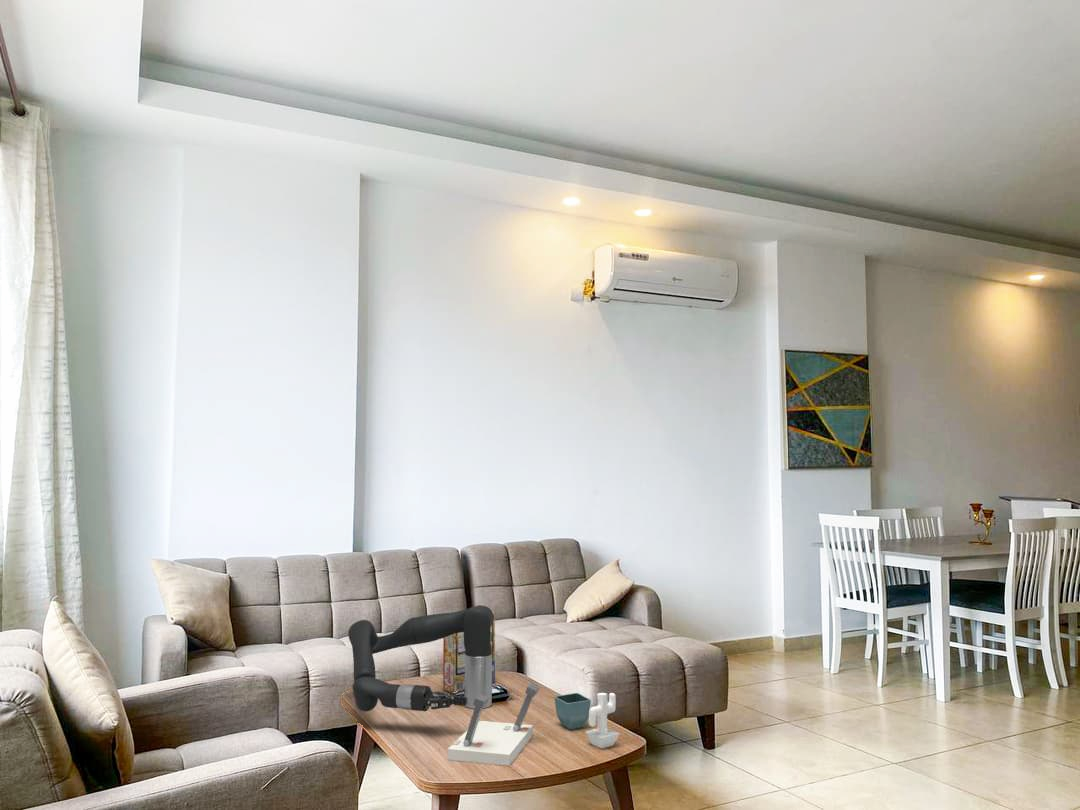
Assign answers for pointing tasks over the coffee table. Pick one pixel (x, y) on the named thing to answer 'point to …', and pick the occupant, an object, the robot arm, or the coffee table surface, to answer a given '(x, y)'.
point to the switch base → (492, 744)
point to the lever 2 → (525, 705)
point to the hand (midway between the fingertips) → (466, 701)
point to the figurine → (602, 721)
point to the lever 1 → (475, 718)
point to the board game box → (460, 660)
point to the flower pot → (572, 710)
